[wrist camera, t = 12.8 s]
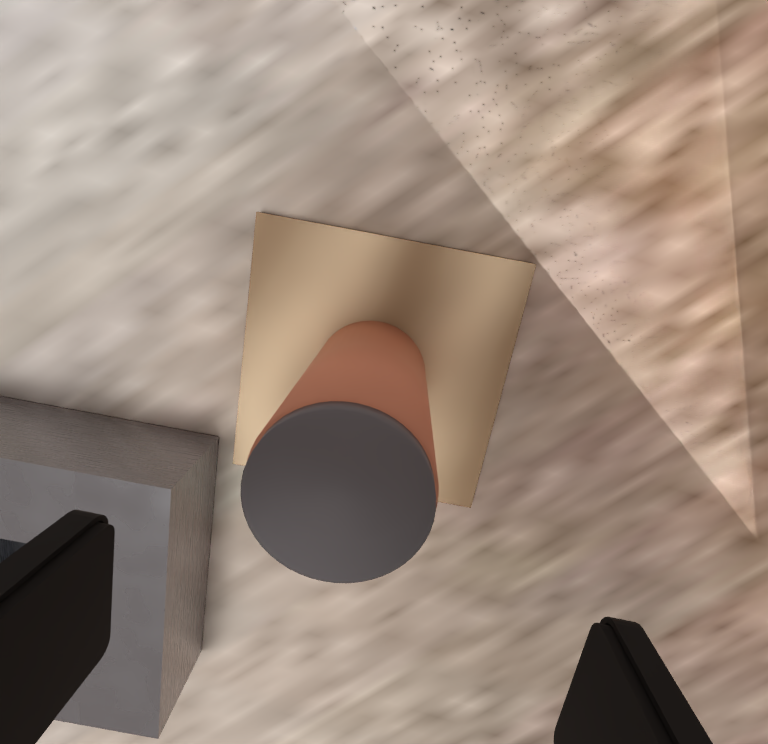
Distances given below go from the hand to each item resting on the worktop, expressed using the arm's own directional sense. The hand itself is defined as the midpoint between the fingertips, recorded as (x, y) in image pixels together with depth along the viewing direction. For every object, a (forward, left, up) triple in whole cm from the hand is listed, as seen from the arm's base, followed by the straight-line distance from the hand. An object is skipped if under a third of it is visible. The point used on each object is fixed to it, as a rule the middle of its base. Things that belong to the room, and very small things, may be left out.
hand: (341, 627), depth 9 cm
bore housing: (+15, +11, -14) cm, 23 cm away
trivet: (+1, -1, -14) cm, 14 cm away
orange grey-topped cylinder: (+1, -1, -14) cm, 14 cm away
